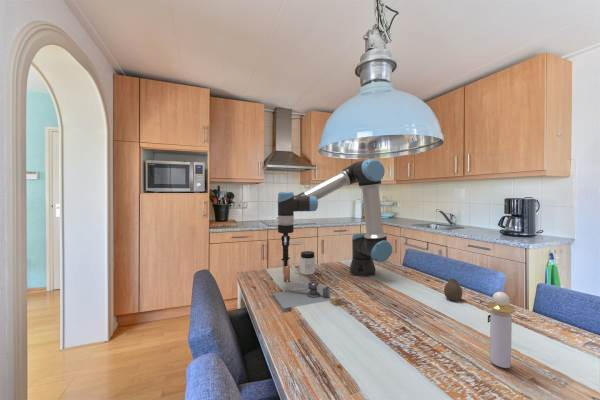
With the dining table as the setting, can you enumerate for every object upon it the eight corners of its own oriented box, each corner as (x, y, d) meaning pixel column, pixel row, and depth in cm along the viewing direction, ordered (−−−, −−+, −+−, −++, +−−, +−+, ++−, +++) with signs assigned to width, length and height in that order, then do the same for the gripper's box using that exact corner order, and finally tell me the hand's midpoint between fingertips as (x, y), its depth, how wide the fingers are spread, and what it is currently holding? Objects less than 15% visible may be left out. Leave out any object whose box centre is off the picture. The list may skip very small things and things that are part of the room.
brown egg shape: (466, 302, 110) (466, 282, 110) (449, 303, 110) (449, 282, 110) (456, 296, 117) (456, 277, 117) (440, 296, 117) (441, 277, 117)
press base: (322, 288, 128) (322, 279, 128) (339, 302, 112) (339, 292, 112) (272, 296, 119) (272, 286, 119) (283, 312, 103) (283, 300, 103)
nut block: (337, 294, 110) (342, 298, 107) (337, 304, 111) (343, 307, 107) (329, 296, 109) (334, 299, 105) (329, 305, 109) (334, 309, 105)
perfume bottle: (519, 372, 68) (520, 296, 67) (497, 372, 68) (497, 296, 67) (503, 358, 73) (504, 288, 73) (482, 358, 74) (483, 288, 73)
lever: (330, 293, 116) (330, 269, 116) (327, 297, 112) (327, 271, 112) (285, 287, 124) (285, 264, 124) (282, 290, 120) (281, 267, 119)
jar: (301, 275, 150) (301, 254, 150) (299, 271, 158) (299, 251, 158) (316, 274, 151) (316, 253, 151) (313, 270, 159) (313, 250, 159)
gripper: (278, 222, 130) (278, 269, 131) (276, 225, 117) (276, 277, 118) (293, 222, 131) (293, 269, 131) (293, 225, 118) (293, 277, 118)
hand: (285, 273), depth 125 cm, fingers closed
